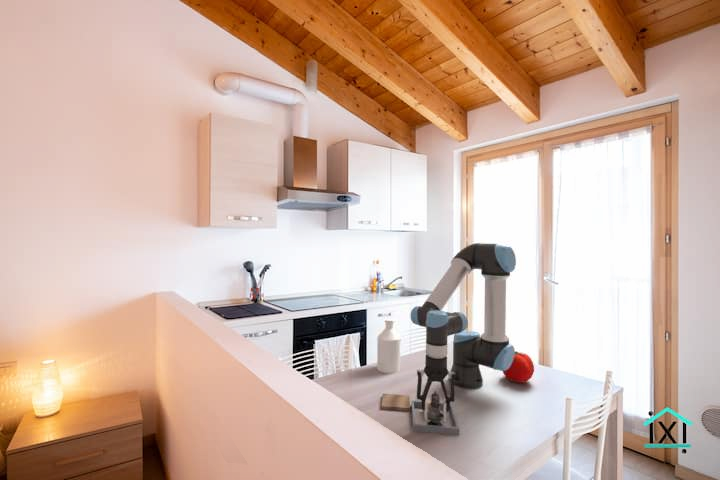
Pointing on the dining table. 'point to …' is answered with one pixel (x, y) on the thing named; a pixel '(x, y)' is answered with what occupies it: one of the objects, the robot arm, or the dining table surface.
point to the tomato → (520, 368)
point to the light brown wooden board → (396, 402)
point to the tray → (431, 427)
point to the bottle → (388, 349)
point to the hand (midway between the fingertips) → (435, 419)
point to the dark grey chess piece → (435, 411)
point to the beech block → (429, 404)
